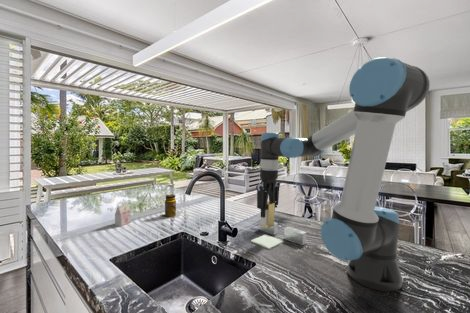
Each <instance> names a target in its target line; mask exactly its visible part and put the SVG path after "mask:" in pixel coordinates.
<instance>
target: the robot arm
mask: <svg viewBox="0 0 470 313" xmlns="http://www.w3.org/2000/svg"><path fill="white" fill-rule="evenodd" d="M430 84H431V83H430V79H429V76H428V75H427V73H426V72H425V71H424V70H423V69H421V68H420V67H418V66H415V65H411V64H408V63H405V62H403V61H401V60H400V59H397V58H390V57H385V56H383V57H376V58H373V59H370V60H369V61H366V62H364V64H363V65H362V66H360V67H359V68H358V69H356V71H355V72H354V74H353V76H352V78H351V79H350V83H349V86H348V88H349V92H348V93H349V96H350V97H351V98H352V99H351V100H352V101H353V102H354V107H353V109H352V110H350V111H349V112H347V113H345V114H343V115H342V116H340V117H339V118H337V119H336V120H333V121H332V122H331V123H329V124H327V125H326V126H324V127H323V128H321V129H319V130H318V131H316V132H315V133H313V134H311V135H310V136H307V137H292V136H290V137H280V134H279V132H262V133H261V138H260V166H259V168H260V170H259V177H260V179H261V182H260V184H259V185H256V187H255V188H256V208H257V209H259V210H260V219H261V224H263V225H267V210H266V207H267V201H269V202H273V203H275V207H274V214H275V212H276V209H277V208H278V205H279V198H280V186H281V183H280V182H278V181H277V179H278V178H279V171H278V169H279V157H283V158H288V159H294V158H295V159H296V158H300V157H312V158H314V157H318V156H321V155H323V153H324V152H325V150H326V149H327V150H328V148H330V147H333V146H334V145H336V144H338V143H340V142H343V141H344V140H346V139H348V138H350V137H352V136H354V138H353V142H352V146H351V150H350V156H349V162H348V167H347V169H346V170H347V172H346V175H345V181H344V184H343V189H342V195H341V199H340V201H339V202H338V203H336V204H334V205H333V207H332V208H333V209H332V214H331V217H329V218H328V219H327V220H325V221H324V222H323V223H322V225H321V228H320V235H321V236H320V237H321V240H322V243H323V244H324V246H325V248H326V249H327V251H328V252H329V253H330V254H331V255H332V256H333V257H335V258H337V259H339V260H341V261H344V262H348V264H347V265H348V266H347V273H348V275H349V277H350V278H351V279H352V280H354V282H357V283H358V284H360V285H362V286H364V287H366V288H369V289H371V290H375V291H379V292H389V293H390V292H396V291H399V290H401V289H402V287H403V276H402V273H401V269H400V266H399V263H398V260H397V258H398V257H397V255H398V243H399V240H398V239H399V230H400V229H399V228H400V227H399V226H400V217H399V216H400V215H399V213H398V212H396V211H395V210H393V209H390V208H387V207H386V208H385V207H381V206H377V200H378V197H379V192H380V187H381V185H382V180H383V175H384V173H385V168H386V165H387V160H388V157H389V152H390V147H391V144H392V141H393V140H392V139H393V136H394V132H395V128H396V124H397V123H399V122H401V121H402V120H403V119H405V118H406V113H407V112H410V111H411V110H412V109H414V108H416V107H417V106H419V105H420V104H421V103H422V102H423V101H424V100H425V99H426V97H427V95H428V93H429V90H430ZM263 206H264V207H263ZM275 208H276V209H275Z"/></svg>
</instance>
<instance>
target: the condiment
mask: <svg viewBox="0 0 470 313" xmlns="http://www.w3.org/2000/svg"><path fill="white" fill-rule="evenodd" d="M176 212H177V199H176V194H166V195H165V200H164V214H160V215H159V217H161V218H162V219H170V218H175V217H177V218H178V215H177V214H176Z"/></svg>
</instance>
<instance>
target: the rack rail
mask: <svg viewBox="0 0 470 313" xmlns="http://www.w3.org/2000/svg"><path fill="white" fill-rule="evenodd" d="M258 221H259V224H258V228H259V231H263V232H265V233H268V234H271V235H273V236H276V235H278V234H279V223H278V222H276V221H274V226H272V227H270V228H266V227H264V226H261V218H260V219H259V220H258ZM283 230H284V236H283V239H284V240H285V241H288V242H291V243H295V244H298V245H300V246H305V245H306V244H307V233H308V232H307V231H304V230H301V229H298V228H295V227H291V226H286V227H284V229H283Z"/></svg>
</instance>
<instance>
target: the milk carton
mask: <svg viewBox="0 0 470 313" xmlns="http://www.w3.org/2000/svg"><path fill="white" fill-rule="evenodd" d="M131 212H132V210H131V209H130V205H129V203H124V204H121V205H119V206H117V207H116V211H115V213H114V227H115V226H116V227H120V228H121V227H124V226H125V225H128V224H130V223H132V218H131V217H132V213H131Z"/></svg>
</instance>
